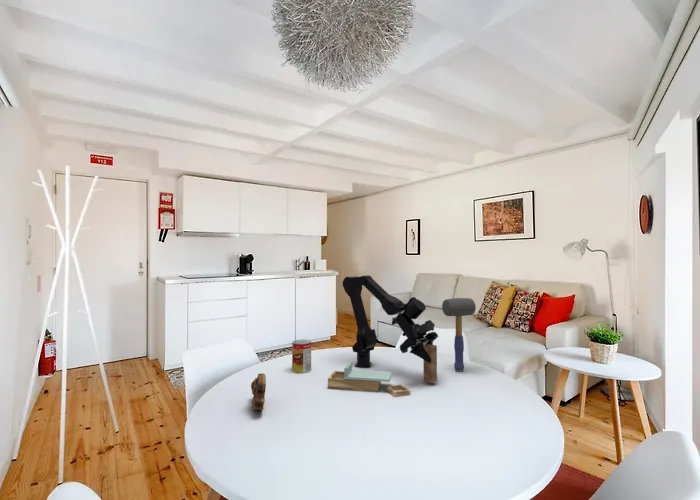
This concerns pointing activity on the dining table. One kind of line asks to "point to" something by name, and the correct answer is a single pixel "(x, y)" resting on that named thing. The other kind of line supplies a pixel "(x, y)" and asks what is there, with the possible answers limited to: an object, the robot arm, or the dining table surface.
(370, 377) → the lid
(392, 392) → the frame
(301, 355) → the canned food
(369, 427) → the dining table surface
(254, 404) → the wooden carving
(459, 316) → the rubber mallet
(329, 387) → the wooden tray
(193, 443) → the dining table surface
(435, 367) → the brown block
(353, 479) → the dining table surface
